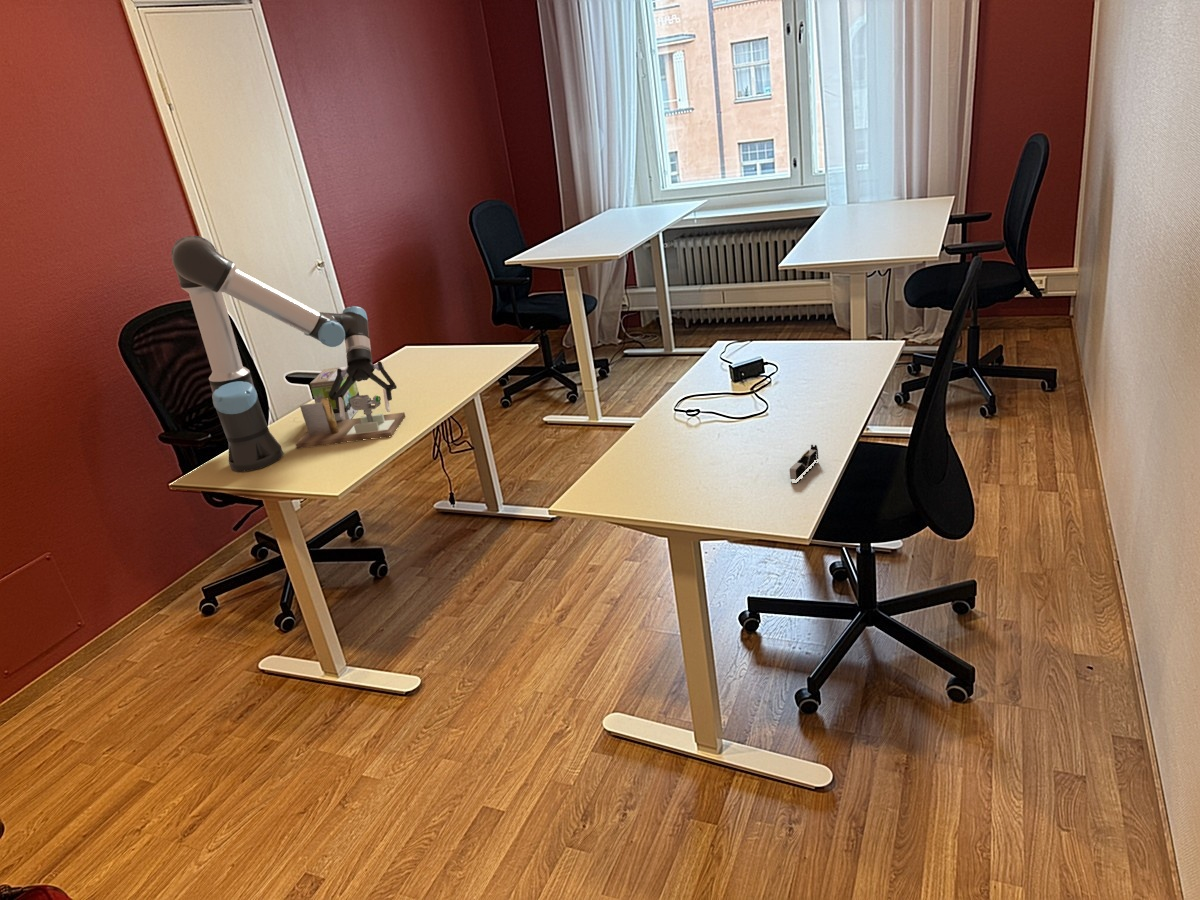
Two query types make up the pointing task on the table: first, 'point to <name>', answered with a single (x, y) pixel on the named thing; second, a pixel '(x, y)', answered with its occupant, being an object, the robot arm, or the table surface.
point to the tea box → (324, 385)
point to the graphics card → (804, 462)
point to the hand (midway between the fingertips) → (365, 414)
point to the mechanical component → (365, 404)
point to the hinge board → (343, 426)
